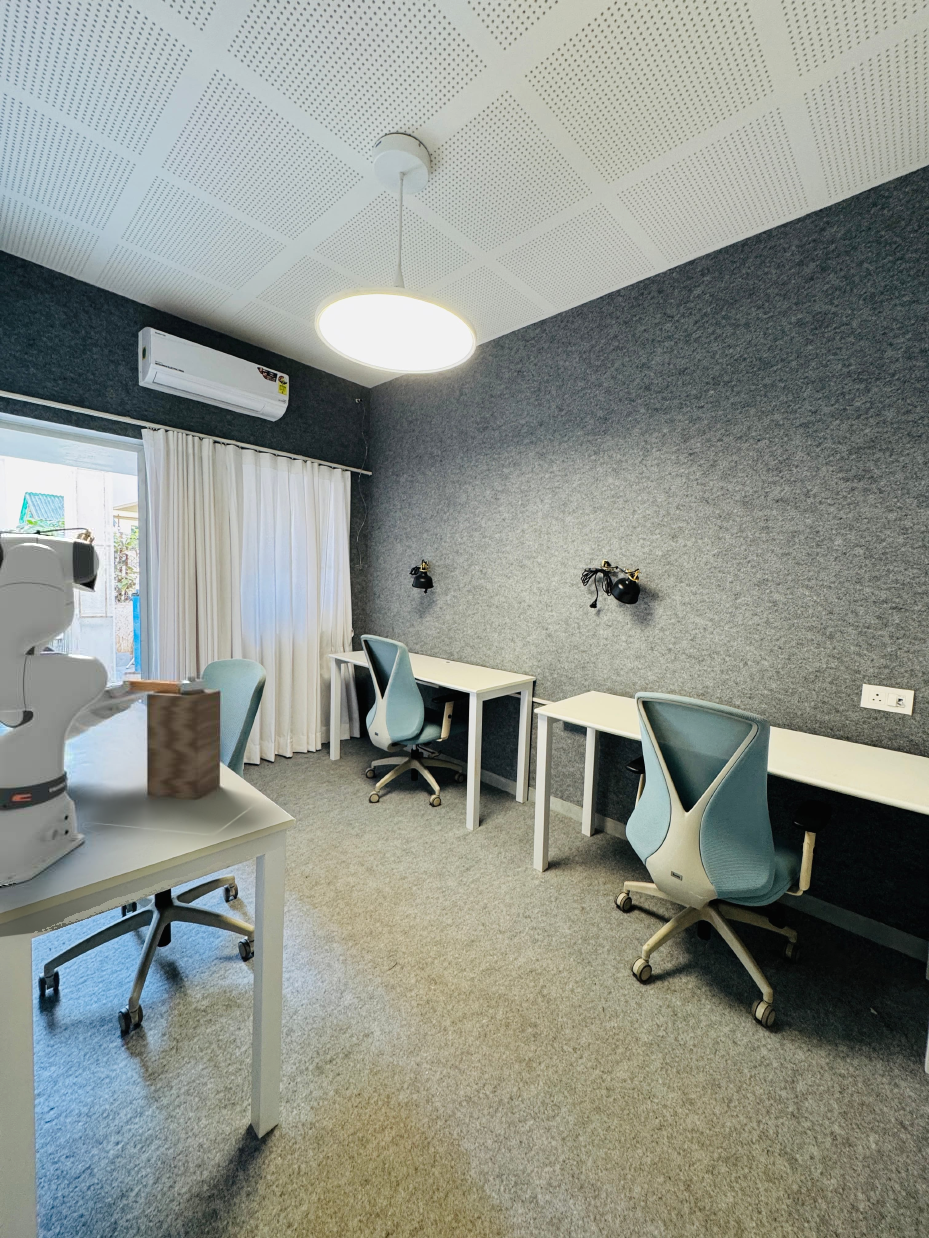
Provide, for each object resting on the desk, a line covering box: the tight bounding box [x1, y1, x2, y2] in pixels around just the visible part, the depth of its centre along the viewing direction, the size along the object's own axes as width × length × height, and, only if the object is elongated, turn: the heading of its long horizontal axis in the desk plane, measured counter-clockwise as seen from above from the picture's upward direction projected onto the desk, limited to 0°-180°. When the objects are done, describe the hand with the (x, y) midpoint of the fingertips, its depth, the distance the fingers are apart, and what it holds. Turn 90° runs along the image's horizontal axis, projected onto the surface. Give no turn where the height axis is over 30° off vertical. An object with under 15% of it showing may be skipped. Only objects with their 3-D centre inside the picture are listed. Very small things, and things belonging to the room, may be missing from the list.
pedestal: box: [146, 689, 221, 800], centre depth 129 cm, size 14×9×26 cm, turn 82°
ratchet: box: [122, 675, 206, 695], centre depth 129 cm, size 22×6×4 cm, turn 82°
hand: (137, 683), depth 130 cm, fingers closed on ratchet, 3 cm apart
